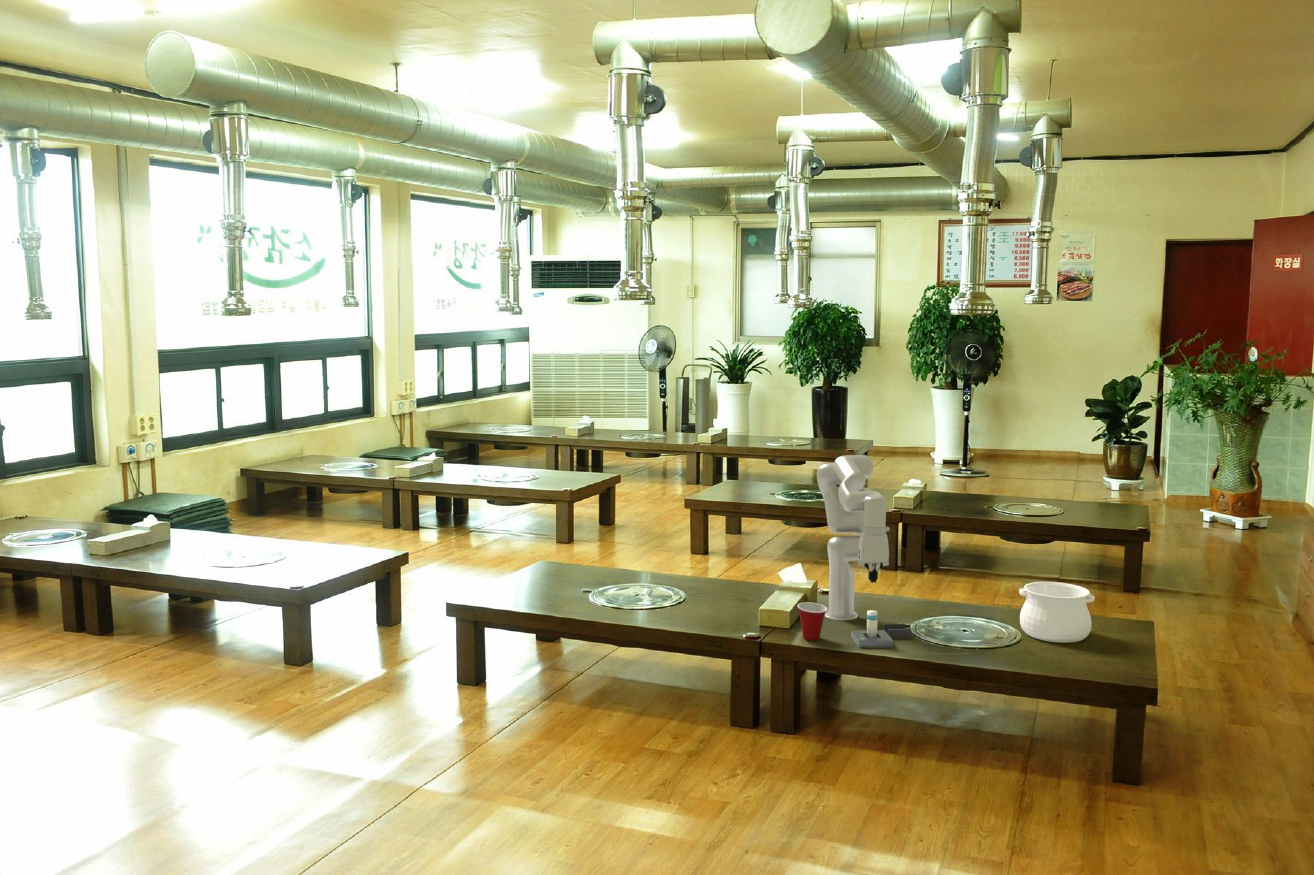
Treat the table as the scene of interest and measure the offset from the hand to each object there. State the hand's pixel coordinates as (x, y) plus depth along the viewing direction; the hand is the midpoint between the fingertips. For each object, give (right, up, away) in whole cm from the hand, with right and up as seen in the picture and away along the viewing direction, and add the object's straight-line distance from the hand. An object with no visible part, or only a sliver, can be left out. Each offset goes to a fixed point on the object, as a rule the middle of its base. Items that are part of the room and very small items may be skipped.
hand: (872, 581), depth 368 cm
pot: (+69, -21, +13) cm, 73 cm away
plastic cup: (-20, -22, +9) cm, 31 cm away
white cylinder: (0, -22, +2) cm, 22 cm away
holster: (+11, -21, +11) cm, 26 cm away
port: (0, -22, +2) cm, 22 cm away
